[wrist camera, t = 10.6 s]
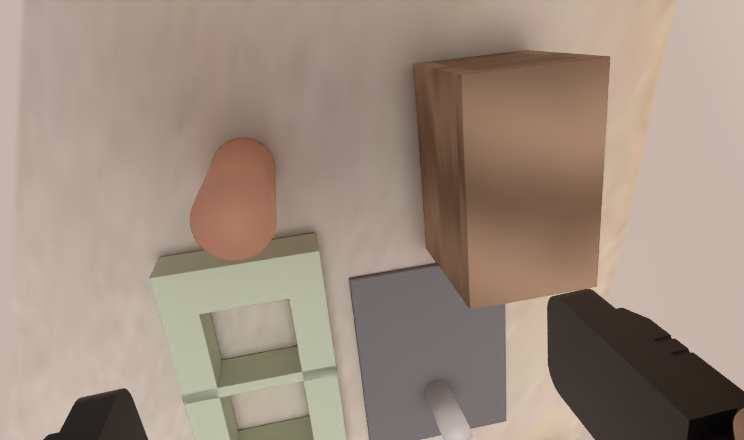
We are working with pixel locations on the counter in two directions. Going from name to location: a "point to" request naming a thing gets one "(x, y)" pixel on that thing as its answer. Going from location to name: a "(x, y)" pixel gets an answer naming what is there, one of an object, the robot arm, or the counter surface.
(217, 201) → the peg
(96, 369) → the counter surface
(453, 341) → the grey plate with post
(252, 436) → the peg board
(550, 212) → the brown box
